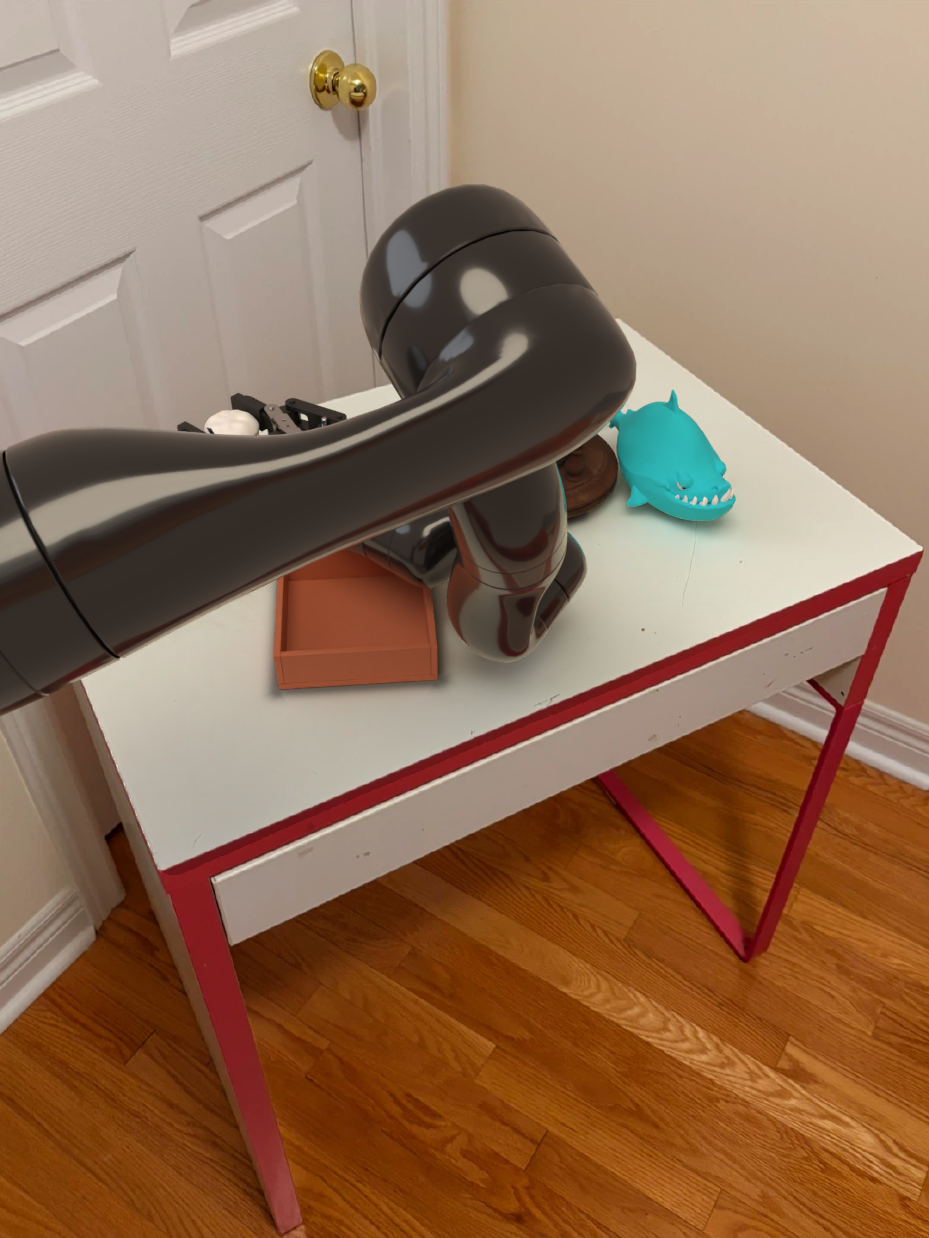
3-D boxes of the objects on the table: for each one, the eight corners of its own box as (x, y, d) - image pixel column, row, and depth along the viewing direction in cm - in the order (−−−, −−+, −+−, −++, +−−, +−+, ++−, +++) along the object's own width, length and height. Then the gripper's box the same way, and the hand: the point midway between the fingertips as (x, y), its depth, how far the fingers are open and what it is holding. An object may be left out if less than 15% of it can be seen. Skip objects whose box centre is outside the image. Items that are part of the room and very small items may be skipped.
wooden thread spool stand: (648, 493, 97) (681, 291, 83) (525, 555, 90) (539, 347, 76) (544, 421, 105) (559, 226, 91) (425, 473, 99) (421, 272, 85)
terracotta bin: (278, 689, 79) (273, 656, 76) (283, 582, 88) (278, 550, 85) (437, 679, 80) (437, 646, 77) (427, 575, 88) (426, 542, 86)
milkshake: (204, 517, 93) (184, 422, 86) (235, 483, 96) (218, 389, 89) (249, 530, 91) (232, 434, 85) (279, 495, 95) (265, 400, 88)
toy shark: (674, 563, 90) (695, 460, 82) (559, 456, 101) (567, 356, 94) (761, 528, 93) (789, 426, 86) (640, 428, 105) (655, 330, 97)
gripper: (411, 417, 83) (265, 346, 91) (277, 501, 75) (130, 415, 83) (413, 492, 88) (275, 419, 96) (288, 579, 80) (149, 492, 88)
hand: (209, 418), depth 89 cm, fingers open, 5 cm apart
